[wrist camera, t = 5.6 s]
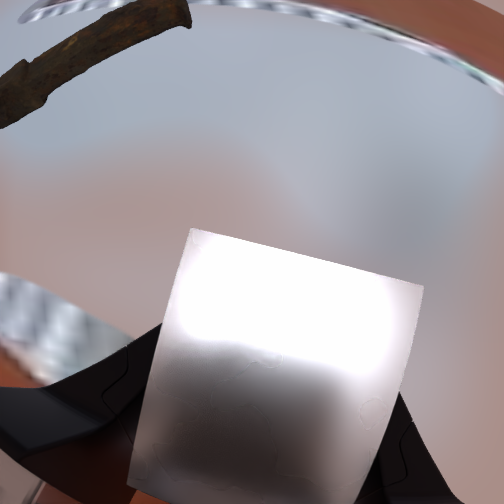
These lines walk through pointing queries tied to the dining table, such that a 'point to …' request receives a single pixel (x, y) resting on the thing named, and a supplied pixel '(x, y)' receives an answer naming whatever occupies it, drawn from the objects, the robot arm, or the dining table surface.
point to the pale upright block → (270, 377)
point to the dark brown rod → (85, 53)
